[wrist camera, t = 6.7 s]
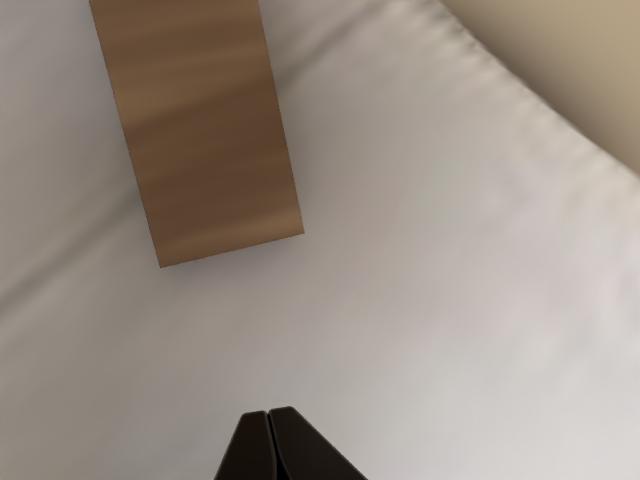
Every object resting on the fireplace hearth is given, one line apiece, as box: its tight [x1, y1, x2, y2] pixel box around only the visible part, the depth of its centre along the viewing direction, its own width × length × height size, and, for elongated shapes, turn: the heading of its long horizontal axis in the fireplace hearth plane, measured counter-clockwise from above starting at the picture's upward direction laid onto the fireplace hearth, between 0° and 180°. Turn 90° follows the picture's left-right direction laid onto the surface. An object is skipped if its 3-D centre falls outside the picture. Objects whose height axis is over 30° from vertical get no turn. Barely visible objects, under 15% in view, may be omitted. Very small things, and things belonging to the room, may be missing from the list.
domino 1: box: [89, 0, 304, 268], centre depth 20 cm, size 2×5×10 cm
